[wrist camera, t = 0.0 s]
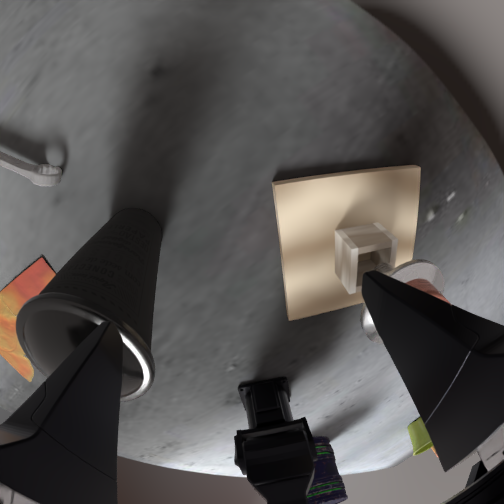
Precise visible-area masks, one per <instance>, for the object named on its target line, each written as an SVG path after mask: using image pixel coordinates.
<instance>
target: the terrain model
mask: <svg viewBox="0 0 504 504" xmlns="http://www.w3.org/2000/svg"><path fill="white" fill-rule="evenodd" d="M55 275H56V274H55V273H54V272H53V270H52V269H51V268H50V267H49V266H48V264H47V263H46V262H45V261H44V259H43V258H40V259H39V260H38V261H36V262H35V263H34V264H33V265H31V266H30V267H29V268H28V269H26V270H25V271H24V272H23V273H22V274H20V275H19V276H18V277H17V278H16V279H15V280H13V281H12V282H11V283H10V284H9V285H8V286H6V287H5V288H4V289H3V290H2V291H1V292H0V354H1V355H2V356H3V357H4V358H5V359H6V360H7V361H8V362H9V363H10V364H11V365H12V366H13V367H14V368H15V369H16V370H17V371H18V372H19V373H20V374H21V375H22V376H23V377H25V378H26V379H27V380H28V381H29V382H31V380H32V377H33V376H34V370H33V368H32V366H31V364H30V360H29V359H27V358H26V357H24V356H23V355H25V353H24V351H23V350H22V348H21V346H20V344H19V341H18V338H17V334H16V318H17V317H15V316H16V315H17V314H18V312H19V310H20V309H21V307H22V306H23V304H24V303H25V302H26V301H27V300H29V299H30V298H32V297H34V296H36V295H39V293H40V292H41V291H42V290H43V289H44V288H45V286H46V285H47V284H48V283H49V282H50V281H51V280H52V278H53V277H54V276H55ZM8 308H9V309H8ZM11 312H12V313H13V314H14V315H15V316H14V315H13V314H12V313H11Z"/></svg>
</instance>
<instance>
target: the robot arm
mask: <svg viewBox="0 0 504 504" xmlns="http://www.w3.org/2000/svg"><path fill="white" fill-rule="evenodd" d="M361 293H362V297H363V299H364V302H365V304H366V306H367V309H368V311H369V313H370V316H371V318H372V321H373V323H374V325H375V328H376V330H377V332H378V334H379V336H380V338H381V339H382V341H383V343H384V345H385V347H386V349H387V351H388V352H389V354H390V356H391V358H392V360H393V362H394V364H395V366H396V368H397V370H398V371H399V373H400V375H401V377H402V379H403V381H404V383H405V385H406V387H407V389H408V391H409V393H410V395H411V397H412V399H413V402H414V404H415V406H416V408H417V410H418V412H419V414H420V416H421V418H422V421H423V423H424V424H425V428H426V430H427V432H428V434H429V436H430V439H431V441H432V443H433V446H434V448H435V450H436V453H437V455H438V457H439V460H440V462H441V465H442V467H443V469H444V471H445V472H447V471H449V470H450V469H452V468H453V467H455V466H457V465H458V464H459V463H461V462H463V461H464V460H466V459H467V458H469V457H470V456H472V455H473V454H475V453H476V452H478V454H479V456H480V458H481V461H479V462H478V463H477V464H475V465H474V466H473V467H472V469H471V472H470V475H469V478H468V481H467V484H466V487H465V489H463V490H462V491H460V492H459V493H457V494H456V495H454V496H453V497H451V498H450V499H448V500H446V501H445V502H443V503H441V504H504V326H503V325H501V324H498V323H495V322H493V321H490V320H487V319H485V318H482V317H480V316H477V315H475V314H472V313H470V312H468V311H465V310H463V309H461V308H459V307H457V306H454V305H451V304H450V303H448V302H446V301H443V300H441V299H439V298H437V297H435V296H433V295H430V294H428V293H426V292H424V291H422V290H419V289H417V288H415V287H413V286H410V285H408V284H406V283H404V282H401V281H399V280H397V279H395V278H392V277H390V276H388V275H385V274H383V273H381V272H378V271H376V270H370V271H366V272H364V273H363V278H362V289H361ZM122 376H123V339H122V336H121V334H120V333H119V331H118V329H117V327H116V326H115V324H114V323H113V322H112V321H106V322H102V323H101V324H100V325H99V326H98V327H97V328H96V329H95V330H94V331H93V332H92V333H91V334H90V335H89V336H88V337H87V338H86V339H85V340H84V341H83V342H82V343H81V344H80V345H79V346H78V347H77V348H76V349H75V350H74V351H73V352H72V353H71V354H70V355H69V356H68V357H67V358H66V359H65V360H64V361H63V362H62V363H61V364H60V365H59V366H58V367H57V368H56V370H55V371H54V372H53V373H52V374H51V375H50V376H49V377H48V378H47V379H46V382H43V383H42V385H41V386H40V387H39V388H38V389H37V390H36V391H35V392H34V393H33V394H32V395H31V396H30V397H29V398H28V399H27V400H26V401H25V402H24V403H23V404H22V405H21V406H20V407H19V408H18V409H17V410H16V411H15V412H14V413H13V414H12V415H11V416H10V417H9V418H8V419H7V420H6V421H5V422H3V423H2V424H1V425H0V504H118V502H117V443H118V424H119V410H120V398H121V388H122ZM238 391H239V394H240V397H241V400H242V402H243V405H244V408H245V410H246V412H247V418H248V425H249V429H247V430H237V435H236V436H234V440H235V459H234V462H235V465H237V466H238V467H239V468H240V470H241V471H242V474H243V475H247V479H248V481H249V482H250V484H251V485H252V487H253V488H254V490H255V491H256V492H257V493H258V494H259V495H260V496H261V497H262V498H263V499H264V500H265V501H266V502H267V504H309V503H308V499H307V494H308V492H309V489H310V487H311V484H312V481H313V479H314V470H315V465H314V461H317V459H318V458H317V451H316V447H315V443H314V440H313V437H312V434H311V431H310V429H309V426H308V423H307V420H306V418H305V417H303V418H301V419H297V420H293V417H292V413H291V409H290V405H289V402H290V397H289V387H288V380H287V378H286V377H282V378H278V379H273V380H268V381H263V382H258V383H253V384H247V385H242V386H239V387H238Z"/></svg>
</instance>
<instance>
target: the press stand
mask: <svg viewBox="0 0 504 504" xmlns="http://www.w3.org/2000/svg"><path fill="white" fill-rule="evenodd" d="M420 172H421V167H419V166H416V165H405V166H393V167H382V168H372V169H363V170H354V171H346V172H338V173H330V174H322V175H315V176H308V177H301V178H295V179H288V180H282V181H276V182H272V187H273V194H274V202H275V210H276V218H277V227H278V235H279V244H280V252H281V261H282V270H283V280H284V289H285V299H286V309H287V316H288V319H289V321H291V320H296V319H300V318H304V317H309V316H313V315H317V314H321V313H325V312H329V311H333V310H337V309H341V308H345V307H348V306H352V305H356V304H360V303H363V302H364V299H363V297H362V293H361V289H362V278H363V273H364V272H366V271H370V270H373V269H374V268H375V267H376V266H377V265H379V264H382V263H389V264H391V265H392V266H393V267H394V268H396V267H397V266H399V265H401V264H403V263H405V262H408V261H411V260H412V256H413V249H414V242H415V234H416V226H417V216H418V205H419V192H420Z"/></svg>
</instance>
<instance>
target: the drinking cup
mask: <svg viewBox="0 0 504 504" xmlns="http://www.w3.org/2000/svg"><path fill="white" fill-rule="evenodd" d="M161 241H162V233H161V229H160V226H159V224H158V222H157V221H156V219H155V218H154V217H153V216H152V215H150V214H149V213H147V212H146V211H143V210H141V209H136V208H129V209H124V210H122V211H120V212H118V213H117V214H116V215H115V216H114V217H113V218H111V219H110V220H109V221H108V222H107V223H106V224H105V225H104V226H103V227H102V228H101V229H100V230H99V231H98V232H97V233H96V234H95V235H94V236H93V237H92V238H91V239H90V240H89V241H88V242H87V243H86V244H85V245H84V246H83V247H82V248H81V249H80V250H79V251H78V252H77V253H76V254H75V255H74V256H73V257H72V258H71V259H70V260H69V261H68V262H67V263H66V264H65V265H64V266H63V267H62V269H61V270H60V271H59V272H58V273H57V274H56V275H55V276H54V277H53V278H52V280H51V281H50V282H49V283H48V284H47V285H46V286H45V288H44V289H43V290H42V291H41V292H40V293H39V295H36V296H34V297H32V298H30V299H29V300H27V301H26V302H25V303H24V304H23V306H22V307H21V309H20V310H19V312H18V314H17V318H16V334H17V338H18V341H19V344H20V346H21V348H22V350H23V351H24V353H25V355H26V356H27V358H28V359H29V360H30V361H31V363H32V364H33V365H34V366H35V367H36V368H37V369H38V370H39V371H40V372H41V373H42V374H43V375H45V376H46V377H47V378H48V377H49V376H50V375H51V374H52V373H53V372H54V371H55V370H56V368H57V367H58V366H59V365H60V364H61V363H62V362H63V361H64V360H65V359H66V358H67V357H68V356H69V355H70V354H71V353H72V352H73V351H74V350H75V349H76V348H77V347H78V346H79V345H80V344H81V343H82V342H83V341H84V340H85V339H86V338H87V337H88V336H89V335H90V334H91V333H92V332H93V331H94V330H95V329H96V328H97V327H98V326H99V325H100V324H101V323H102V322H106V321H112V322H113V323H114V324H115V326H116V327H117V329H118V331H119V333H120V334H121V336H122V339H123V376H122V388H121V398H120V402H126V401H130V400H134V399H136V398H139V397H141V396H142V395H144V394H145V393H146V392H147V391H148V390H149V389H150V387H151V386H152V384H153V381H154V377H155V363H154V359H153V356H152V354H151V339H152V324H153V312H154V300H155V290H156V281H157V272H158V263H159V256H160V248H161Z"/></svg>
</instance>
